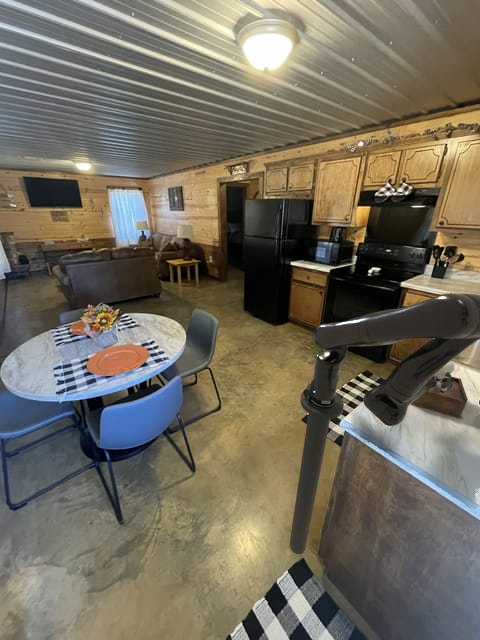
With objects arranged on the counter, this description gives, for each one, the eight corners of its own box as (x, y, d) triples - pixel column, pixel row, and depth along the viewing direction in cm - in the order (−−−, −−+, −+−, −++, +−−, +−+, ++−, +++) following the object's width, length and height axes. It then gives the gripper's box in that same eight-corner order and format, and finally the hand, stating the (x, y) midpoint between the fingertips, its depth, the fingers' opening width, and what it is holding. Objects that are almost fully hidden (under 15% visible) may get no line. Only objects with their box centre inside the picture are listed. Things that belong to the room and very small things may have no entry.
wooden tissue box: (407, 402, 100) (413, 384, 96) (407, 382, 111) (412, 366, 108) (459, 418, 92) (467, 399, 89) (453, 395, 103) (460, 378, 100)
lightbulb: (448, 391, 95) (459, 365, 91) (428, 386, 97) (437, 361, 93) (444, 381, 100) (454, 357, 96) (426, 377, 102) (434, 353, 98)
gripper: (442, 387, 74) (462, 369, 83) (391, 364, 85) (414, 350, 93) (434, 408, 77) (454, 388, 86) (385, 383, 88) (408, 368, 96)
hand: (433, 368), depth 89 cm, fingers open, 8 cm apart
